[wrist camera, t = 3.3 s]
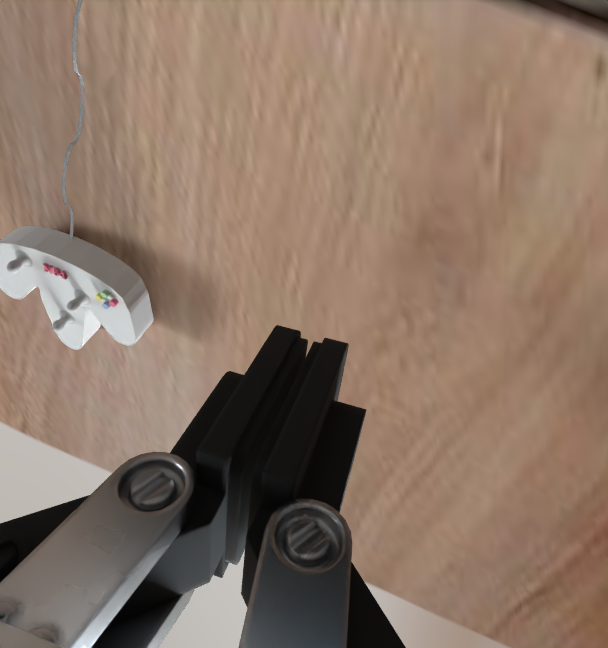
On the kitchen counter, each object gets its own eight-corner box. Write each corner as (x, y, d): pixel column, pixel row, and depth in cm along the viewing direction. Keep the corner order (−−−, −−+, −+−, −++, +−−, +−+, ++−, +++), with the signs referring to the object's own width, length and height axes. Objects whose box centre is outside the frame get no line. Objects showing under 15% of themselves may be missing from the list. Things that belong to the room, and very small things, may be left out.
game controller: (50, 327, 21) (2, 362, 19) (-65, 4, 15) (-154, 2, 13) (169, 344, 20) (132, 384, 17) (94, -7, 14) (23, -11, 11)
